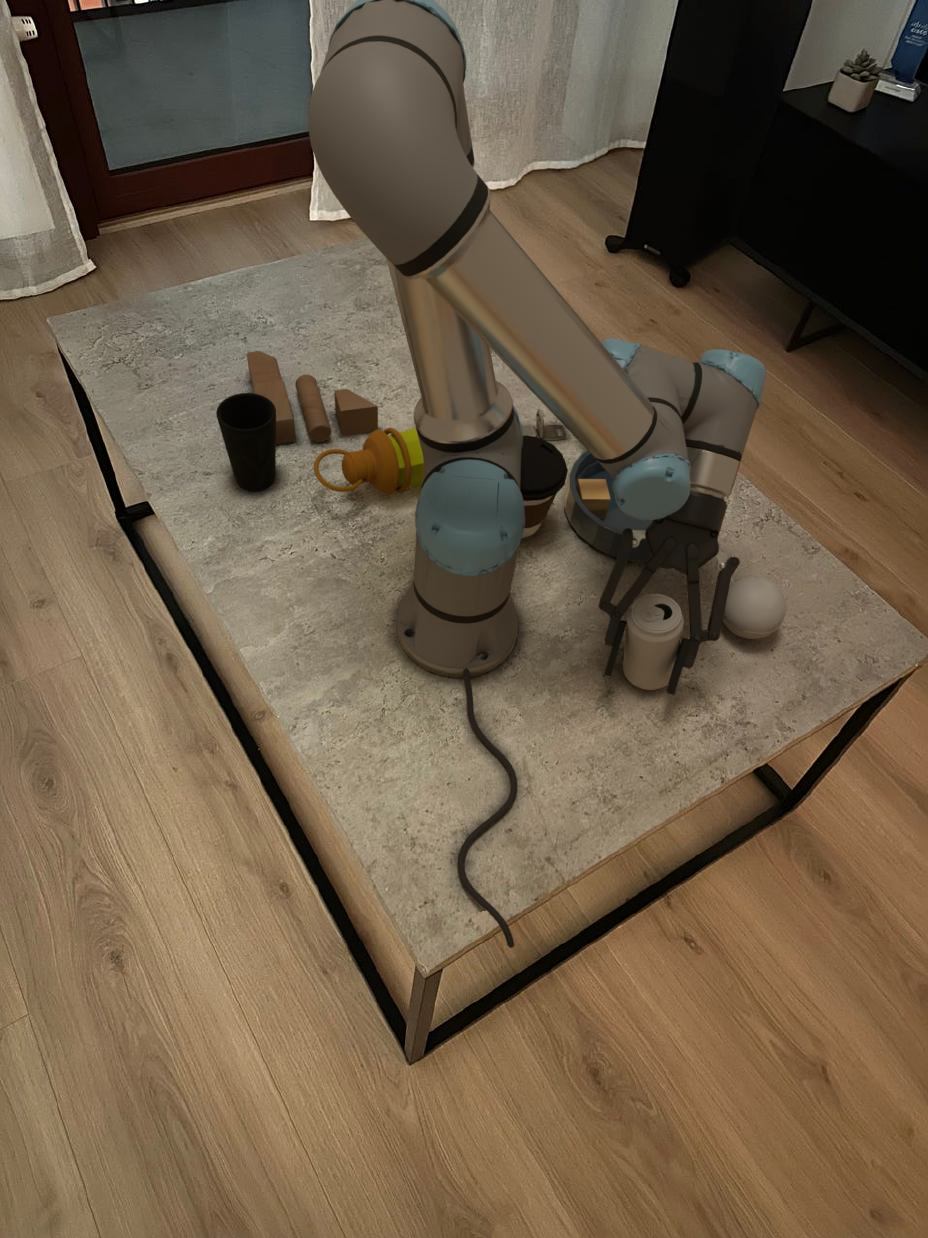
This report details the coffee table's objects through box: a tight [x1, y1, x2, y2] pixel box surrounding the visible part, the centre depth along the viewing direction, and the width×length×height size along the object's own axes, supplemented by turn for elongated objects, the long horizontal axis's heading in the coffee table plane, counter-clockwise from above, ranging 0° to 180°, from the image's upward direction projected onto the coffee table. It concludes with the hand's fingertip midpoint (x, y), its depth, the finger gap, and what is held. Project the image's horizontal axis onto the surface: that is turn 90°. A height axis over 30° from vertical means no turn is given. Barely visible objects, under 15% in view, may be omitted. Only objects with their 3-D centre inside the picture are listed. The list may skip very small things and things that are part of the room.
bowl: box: [563, 449, 653, 563], centre depth 127 cm, size 20×20×5 cm
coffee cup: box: [520, 435, 569, 539], centre depth 121 cm, size 11×11×12 cm
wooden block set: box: [246, 350, 379, 445], centre depth 136 cm, size 17×6×18 cm
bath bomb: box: [723, 576, 787, 640], centre depth 115 cm, size 8×8×8 cm
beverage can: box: [622, 593, 685, 691], centre depth 107 cm, size 6×6×12 cm
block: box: [576, 479, 610, 519], centre depth 126 cm, size 4×4×4 cm
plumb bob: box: [313, 427, 424, 496], centre depth 126 cm, size 9×9×25 cm
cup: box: [215, 392, 277, 493], centre depth 123 cm, size 8×8×12 cm
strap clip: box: [521, 408, 567, 441], centre depth 136 cm, size 8×3×4 cm, turn 100°
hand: (639, 683), depth 105 cm, fingers closed on beverage can, 7 cm apart
